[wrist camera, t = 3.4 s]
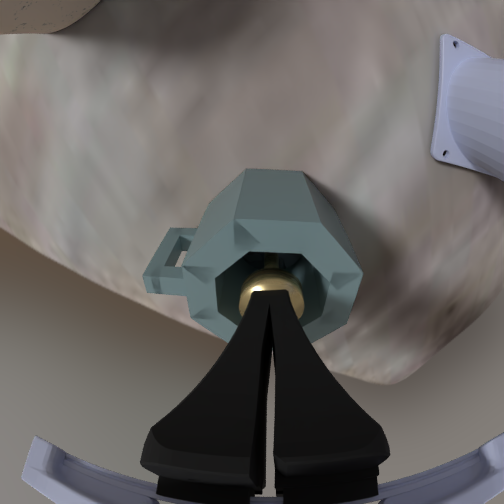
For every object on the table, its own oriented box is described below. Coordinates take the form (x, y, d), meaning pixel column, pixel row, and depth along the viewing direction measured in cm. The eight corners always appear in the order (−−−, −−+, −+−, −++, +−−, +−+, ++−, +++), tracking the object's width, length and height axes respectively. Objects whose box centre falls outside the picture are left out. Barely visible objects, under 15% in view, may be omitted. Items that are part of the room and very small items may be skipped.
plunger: (307, 211, 14) (324, 274, 10) (299, 266, 16) (309, 337, 12) (238, 207, 14) (224, 270, 10) (238, 263, 16) (228, 335, 12)
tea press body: (339, 174, 14) (376, 226, 9) (321, 278, 18) (336, 350, 13) (171, 168, 15) (123, 217, 10) (183, 272, 19) (158, 340, 14)
